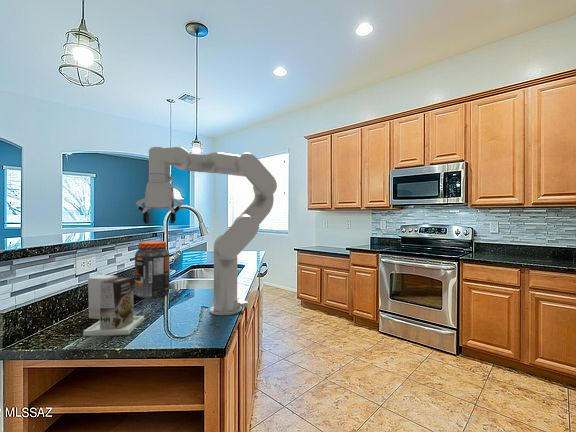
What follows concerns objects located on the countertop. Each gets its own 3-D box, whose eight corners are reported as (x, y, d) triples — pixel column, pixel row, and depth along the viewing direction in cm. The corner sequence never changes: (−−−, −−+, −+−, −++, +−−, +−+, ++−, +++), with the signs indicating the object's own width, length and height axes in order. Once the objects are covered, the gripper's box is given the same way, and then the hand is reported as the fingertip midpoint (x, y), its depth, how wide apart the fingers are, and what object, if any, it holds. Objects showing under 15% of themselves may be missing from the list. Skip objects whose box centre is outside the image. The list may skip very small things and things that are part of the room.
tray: (144, 320, 115) (144, 315, 115) (128, 334, 101) (128, 329, 101) (104, 321, 114) (105, 316, 114) (83, 335, 100) (83, 330, 100)
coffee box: (116, 331, 103) (116, 282, 103) (99, 329, 104) (99, 281, 104) (134, 321, 112) (134, 277, 112) (118, 320, 113) (118, 276, 113)
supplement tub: (134, 292, 156) (134, 241, 155) (167, 289, 163) (167, 240, 163) (135, 300, 142) (135, 244, 141) (171, 296, 149) (171, 242, 149)
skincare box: (119, 315, 121) (119, 275, 121) (104, 320, 114) (105, 278, 114) (101, 313, 123) (102, 274, 123) (87, 318, 117) (87, 277, 117)
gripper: (184, 180, 125) (184, 223, 125) (140, 180, 123) (140, 223, 123) (179, 178, 117) (180, 223, 117) (132, 178, 116) (132, 223, 116)
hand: (159, 223), depth 120 cm, fingers open, 9 cm apart
